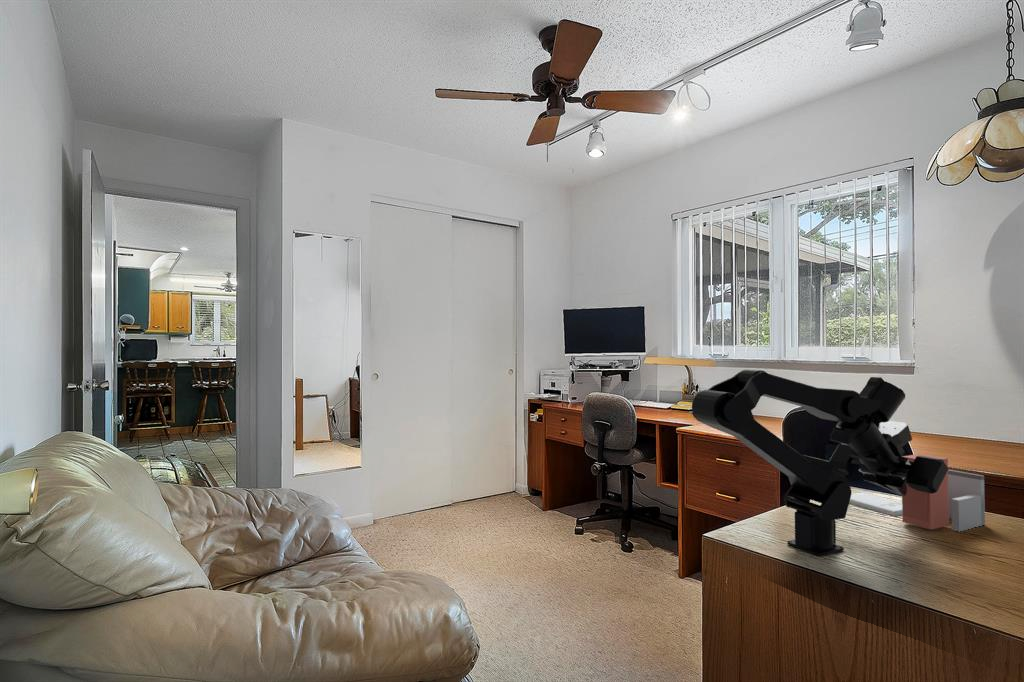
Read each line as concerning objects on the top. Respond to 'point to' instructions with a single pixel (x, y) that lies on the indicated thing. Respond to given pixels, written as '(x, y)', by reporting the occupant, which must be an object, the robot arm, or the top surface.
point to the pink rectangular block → (926, 504)
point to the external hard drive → (876, 503)
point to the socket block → (966, 500)
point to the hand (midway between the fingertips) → (903, 493)
